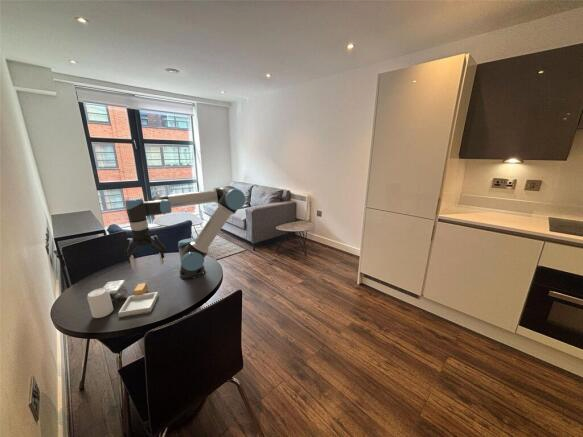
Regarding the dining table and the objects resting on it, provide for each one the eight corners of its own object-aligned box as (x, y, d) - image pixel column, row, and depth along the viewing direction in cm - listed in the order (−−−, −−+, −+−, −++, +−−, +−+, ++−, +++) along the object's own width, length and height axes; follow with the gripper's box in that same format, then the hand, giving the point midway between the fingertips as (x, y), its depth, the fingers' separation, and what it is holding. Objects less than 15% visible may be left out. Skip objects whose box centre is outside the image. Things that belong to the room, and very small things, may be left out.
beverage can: (117, 307, 117) (112, 287, 114) (105, 318, 110) (99, 297, 106) (101, 308, 117) (95, 287, 114) (88, 319, 109) (81, 297, 106)
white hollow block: (131, 292, 130) (127, 279, 127) (123, 303, 120) (120, 289, 118) (111, 295, 127) (107, 282, 125) (102, 306, 118) (98, 292, 116)
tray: (158, 296, 126) (157, 291, 126) (151, 312, 114) (150, 307, 113) (130, 300, 123) (129, 296, 122) (119, 317, 111) (118, 312, 110)
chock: (148, 290, 132) (146, 282, 130) (144, 297, 125) (142, 289, 124) (140, 291, 131) (138, 283, 129) (135, 299, 124) (133, 290, 123)
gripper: (168, 223, 125) (174, 259, 131) (114, 228, 118) (124, 266, 124) (165, 227, 118) (172, 265, 124) (108, 233, 111) (118, 272, 118)
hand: (148, 265), depth 124 cm, fingers open, 13 cm apart
